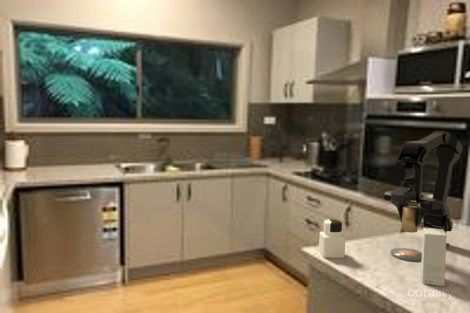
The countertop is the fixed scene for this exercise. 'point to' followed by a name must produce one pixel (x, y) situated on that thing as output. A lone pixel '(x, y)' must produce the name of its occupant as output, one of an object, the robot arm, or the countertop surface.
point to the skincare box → (433, 256)
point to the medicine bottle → (332, 240)
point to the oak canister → (409, 219)
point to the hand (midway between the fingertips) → (409, 224)
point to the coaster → (406, 254)
